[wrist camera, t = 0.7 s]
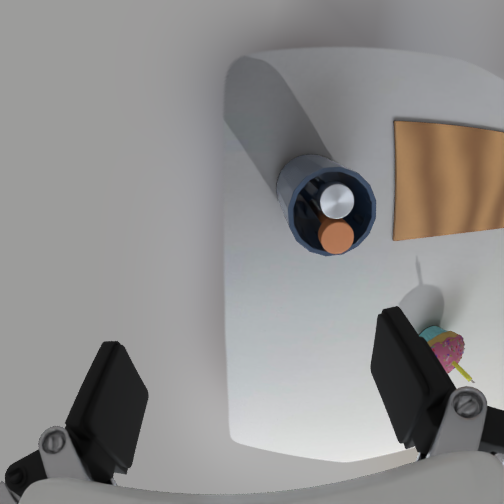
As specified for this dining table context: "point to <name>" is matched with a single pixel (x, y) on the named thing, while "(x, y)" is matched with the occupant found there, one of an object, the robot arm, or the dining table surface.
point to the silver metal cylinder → (333, 198)
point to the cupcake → (446, 348)
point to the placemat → (447, 180)
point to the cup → (302, 191)
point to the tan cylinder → (332, 231)
